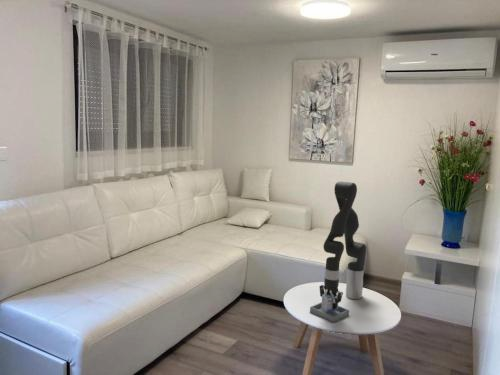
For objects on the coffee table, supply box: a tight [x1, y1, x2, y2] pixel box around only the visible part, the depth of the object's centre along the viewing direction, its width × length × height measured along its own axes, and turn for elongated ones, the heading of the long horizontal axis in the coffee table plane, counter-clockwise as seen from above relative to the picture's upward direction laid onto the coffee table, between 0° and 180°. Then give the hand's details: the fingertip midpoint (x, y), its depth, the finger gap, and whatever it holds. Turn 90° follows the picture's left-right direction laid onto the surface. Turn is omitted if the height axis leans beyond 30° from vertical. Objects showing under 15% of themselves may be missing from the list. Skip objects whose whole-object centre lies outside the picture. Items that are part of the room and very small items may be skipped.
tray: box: [309, 301, 350, 324], centre depth 216 cm, size 14×16×3 cm
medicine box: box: [321, 294, 339, 313], centre depth 216 cm, size 8×4×9 cm, turn 114°
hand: (329, 306), depth 216 cm, fingers closed on medicine box, 5 cm apart
